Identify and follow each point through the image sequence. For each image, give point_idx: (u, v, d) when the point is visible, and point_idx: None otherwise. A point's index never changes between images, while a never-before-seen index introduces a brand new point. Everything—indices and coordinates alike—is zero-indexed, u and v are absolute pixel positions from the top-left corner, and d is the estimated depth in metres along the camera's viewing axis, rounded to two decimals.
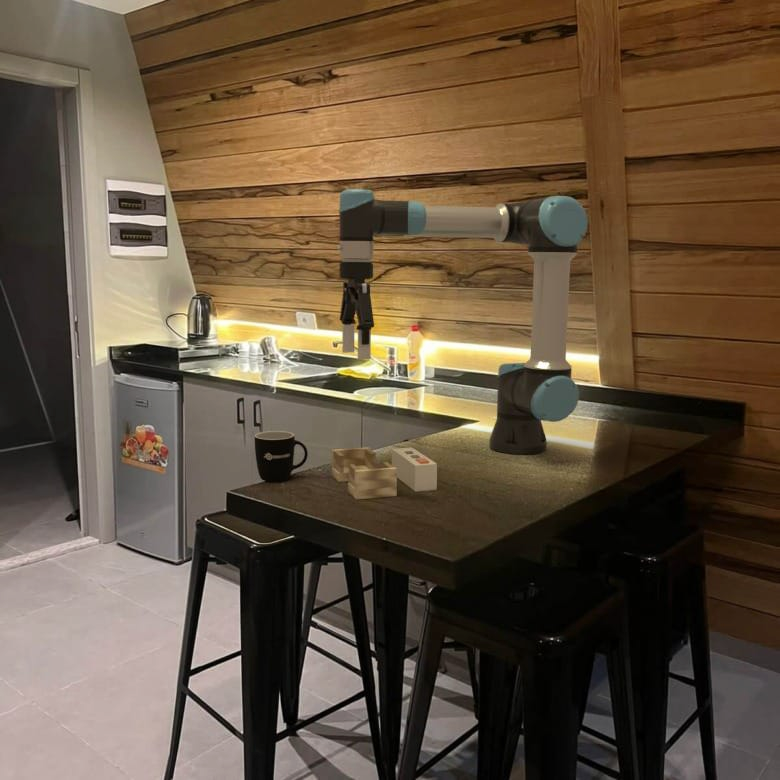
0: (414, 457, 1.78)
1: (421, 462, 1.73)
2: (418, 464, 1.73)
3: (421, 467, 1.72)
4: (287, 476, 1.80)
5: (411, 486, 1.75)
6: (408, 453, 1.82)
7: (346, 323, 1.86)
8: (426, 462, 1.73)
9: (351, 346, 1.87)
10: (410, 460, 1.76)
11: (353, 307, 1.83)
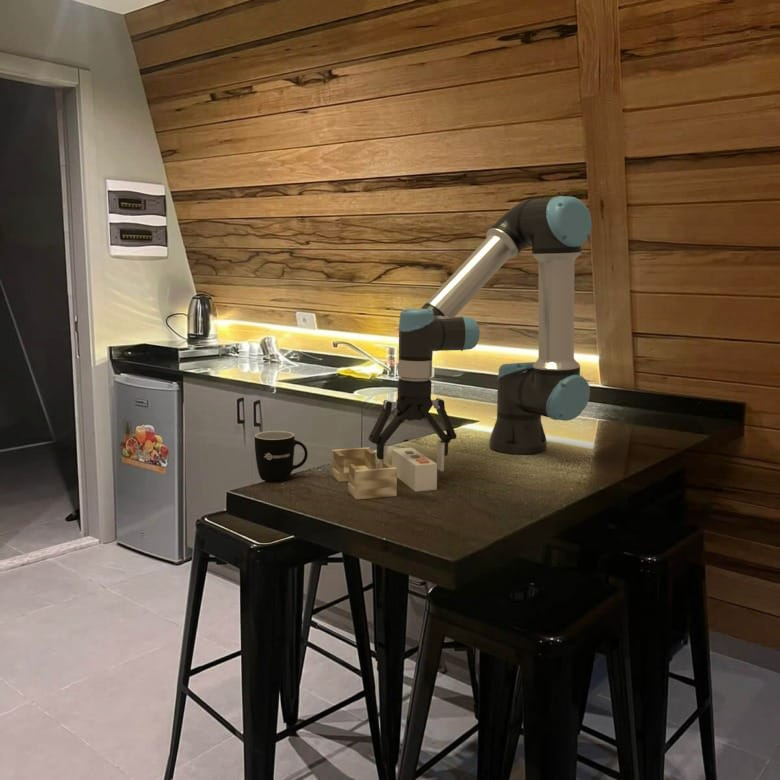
0: (414, 457, 1.78)
1: (421, 462, 1.73)
2: (418, 464, 1.73)
3: (421, 467, 1.72)
4: (287, 476, 1.80)
5: (411, 486, 1.75)
6: (408, 453, 1.82)
7: (441, 440, 1.82)
8: (426, 462, 1.73)
9: (439, 463, 1.81)
10: (410, 460, 1.76)
11: (430, 424, 1.79)
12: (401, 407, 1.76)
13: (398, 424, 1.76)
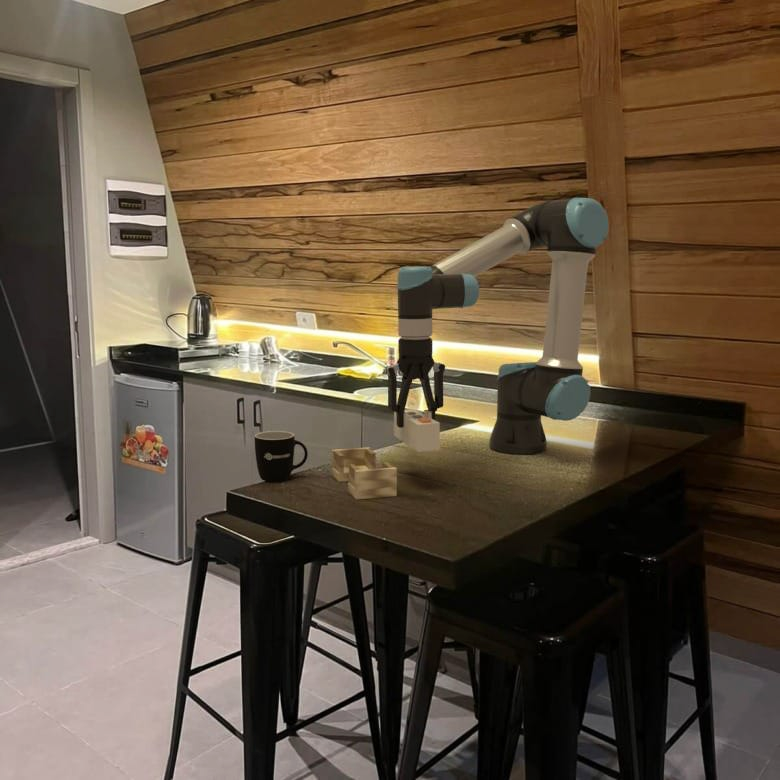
0: (416, 417, 1.77)
1: (423, 421, 1.72)
2: (420, 423, 1.71)
3: (423, 426, 1.71)
4: (287, 476, 1.80)
5: (414, 446, 1.74)
6: (410, 414, 1.80)
7: (428, 408, 1.80)
8: (428, 421, 1.72)
9: None
10: (412, 420, 1.75)
11: (424, 387, 1.78)
12: (403, 367, 1.75)
13: (408, 387, 1.76)
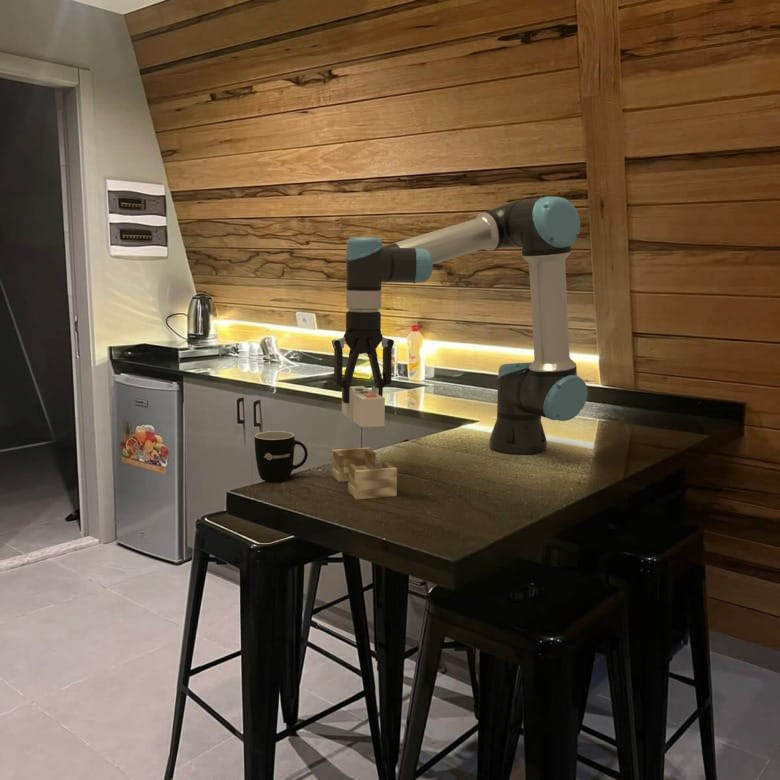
0: (362, 392, 1.72)
1: (368, 396, 1.67)
2: (365, 398, 1.66)
3: (367, 401, 1.66)
4: (287, 476, 1.80)
5: (358, 421, 1.68)
6: (357, 390, 1.75)
7: (375, 384, 1.75)
8: (373, 396, 1.67)
9: None
10: (358, 395, 1.70)
11: (372, 362, 1.73)
12: (350, 340, 1.70)
13: (354, 361, 1.71)
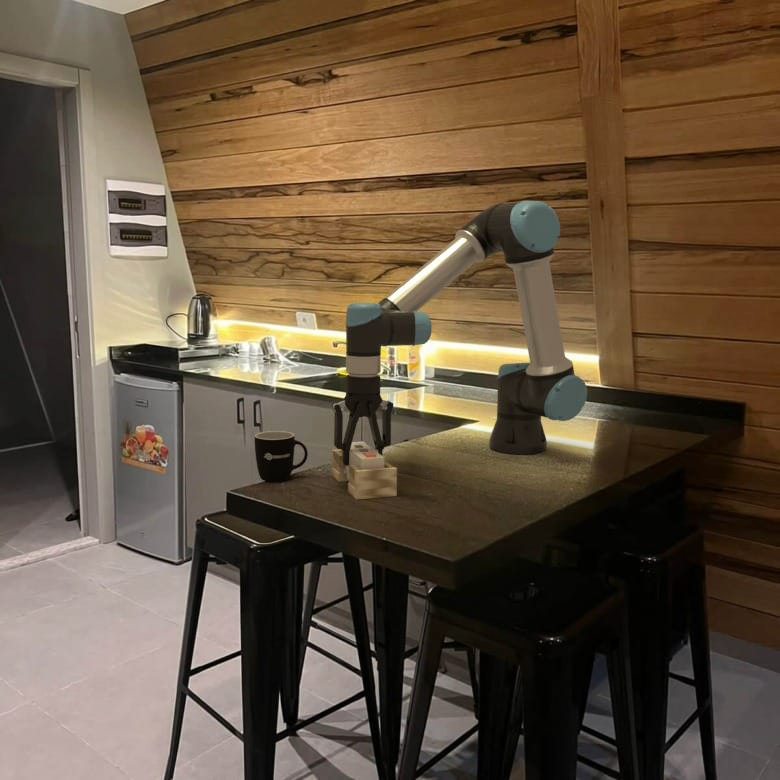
0: (362, 451, 1.74)
1: (368, 456, 1.69)
2: (365, 458, 1.68)
3: (367, 461, 1.68)
4: (287, 476, 1.80)
5: None
6: (357, 447, 1.78)
7: (375, 446, 1.77)
8: (373, 456, 1.69)
9: None
10: (358, 454, 1.72)
11: (371, 425, 1.75)
12: (350, 404, 1.72)
13: (354, 424, 1.73)
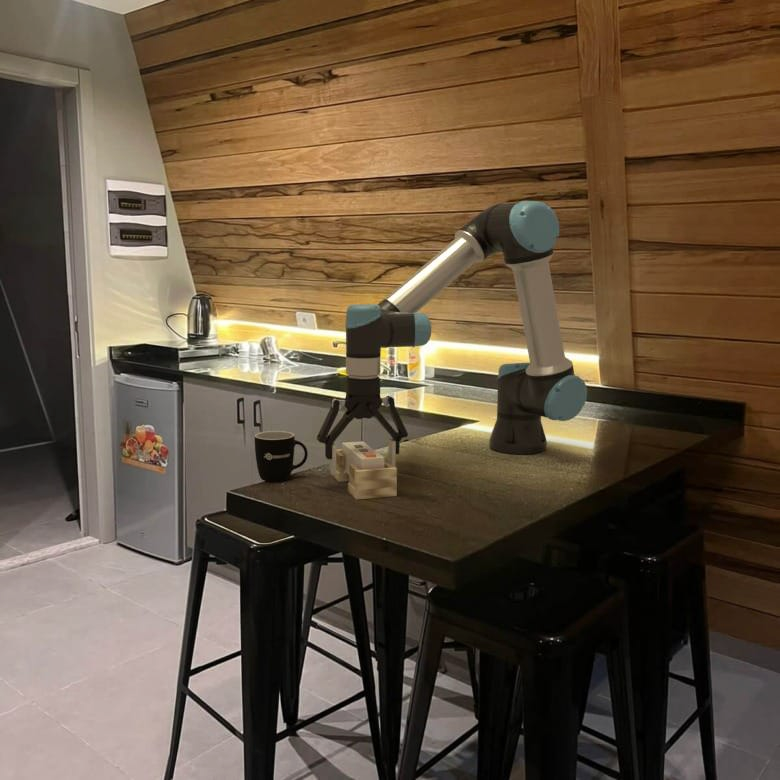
0: (362, 451, 1.74)
1: (368, 456, 1.69)
2: (365, 458, 1.68)
3: (367, 461, 1.68)
4: (287, 476, 1.80)
5: None
6: (357, 447, 1.78)
7: (392, 438, 1.78)
8: (373, 456, 1.69)
9: (391, 462, 1.78)
10: (358, 454, 1.72)
11: (380, 423, 1.76)
12: (349, 405, 1.72)
13: (346, 423, 1.72)
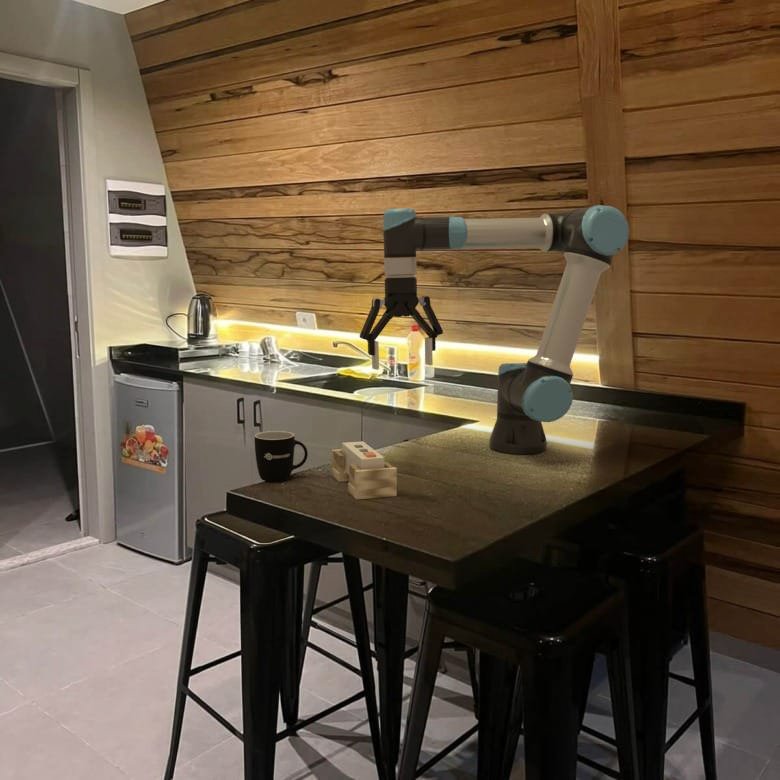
0: (362, 451, 1.74)
1: (368, 456, 1.69)
2: (365, 458, 1.68)
3: (367, 461, 1.68)
4: (287, 476, 1.80)
5: None
6: (357, 447, 1.78)
7: (429, 336, 1.91)
8: (373, 456, 1.69)
9: (428, 358, 1.90)
10: (358, 454, 1.72)
11: (417, 321, 1.88)
12: (389, 304, 1.84)
13: (387, 320, 1.85)
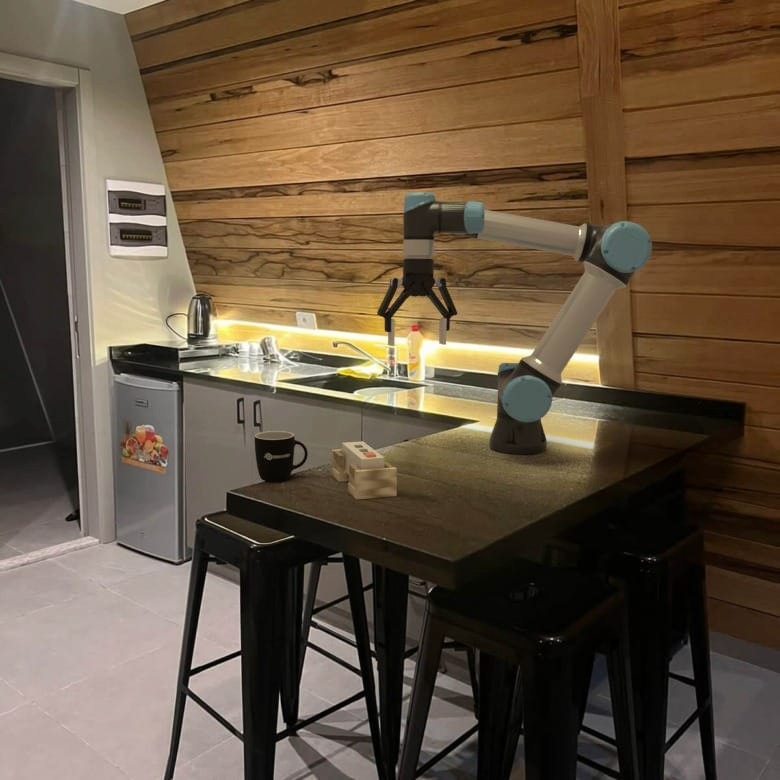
0: (362, 451, 1.74)
1: (368, 456, 1.69)
2: (365, 458, 1.68)
3: (367, 461, 1.68)
4: (287, 476, 1.80)
5: None
6: (357, 447, 1.78)
7: (443, 316, 1.99)
8: (373, 456, 1.69)
9: (442, 338, 1.98)
10: (358, 454, 1.72)
11: (433, 301, 1.97)
12: (406, 283, 1.93)
13: (404, 299, 1.93)
